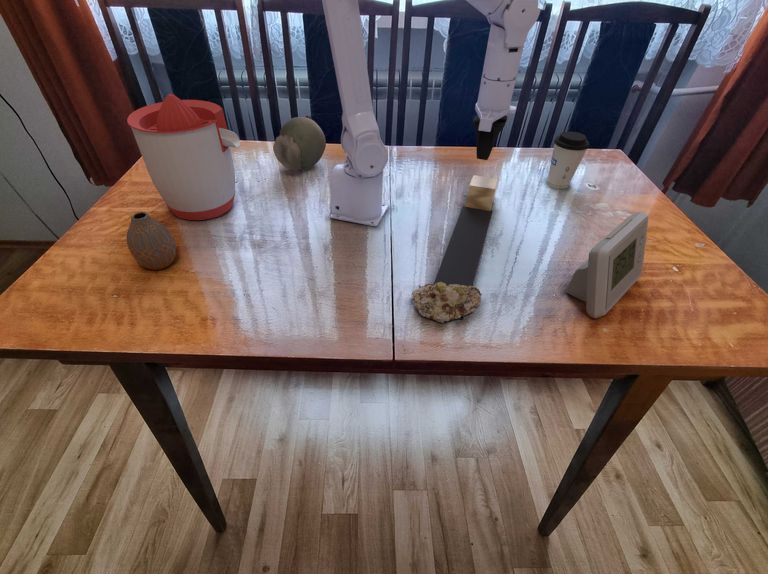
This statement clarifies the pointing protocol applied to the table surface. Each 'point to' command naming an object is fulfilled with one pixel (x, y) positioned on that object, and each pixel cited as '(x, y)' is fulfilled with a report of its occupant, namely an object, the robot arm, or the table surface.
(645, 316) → the table surface
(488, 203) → the maple block
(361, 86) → the robot arm
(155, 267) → the vase
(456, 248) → the line stripe
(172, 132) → the citrus juicer
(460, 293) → the mineral rock
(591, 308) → the digital clock
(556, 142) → the coffee cup
